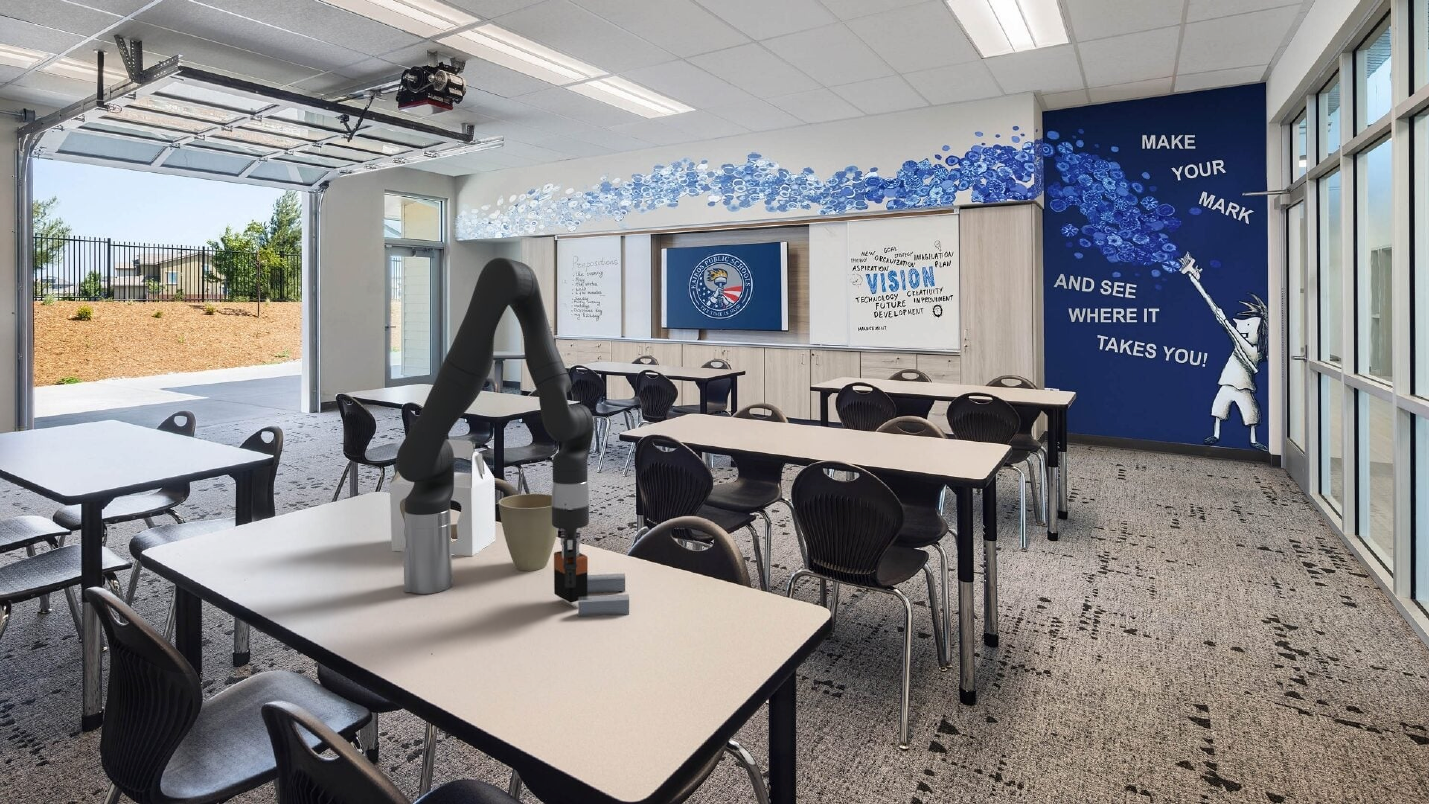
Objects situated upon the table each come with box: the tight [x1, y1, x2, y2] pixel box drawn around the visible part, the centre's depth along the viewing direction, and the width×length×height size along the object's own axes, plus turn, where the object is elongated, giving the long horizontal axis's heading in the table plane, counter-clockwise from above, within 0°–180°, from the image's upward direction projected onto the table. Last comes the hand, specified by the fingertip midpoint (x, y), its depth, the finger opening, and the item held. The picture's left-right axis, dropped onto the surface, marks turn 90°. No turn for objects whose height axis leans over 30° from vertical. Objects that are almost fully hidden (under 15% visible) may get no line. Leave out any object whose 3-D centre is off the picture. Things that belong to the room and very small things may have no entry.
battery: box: [553, 550, 589, 604], centre depth 155 cm, size 4×7×10 cm, turn 41°
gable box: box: [389, 438, 496, 557], centre depth 193 cm, size 22×13×28 cm, turn 81°
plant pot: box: [498, 493, 559, 572], centre depth 179 cm, size 15×15×16 cm
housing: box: [577, 573, 630, 618], centre depth 157 cm, size 10×15×3 cm, turn 10°
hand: (570, 580), depth 156 cm, fingers closed on battery, 8 cm apart
